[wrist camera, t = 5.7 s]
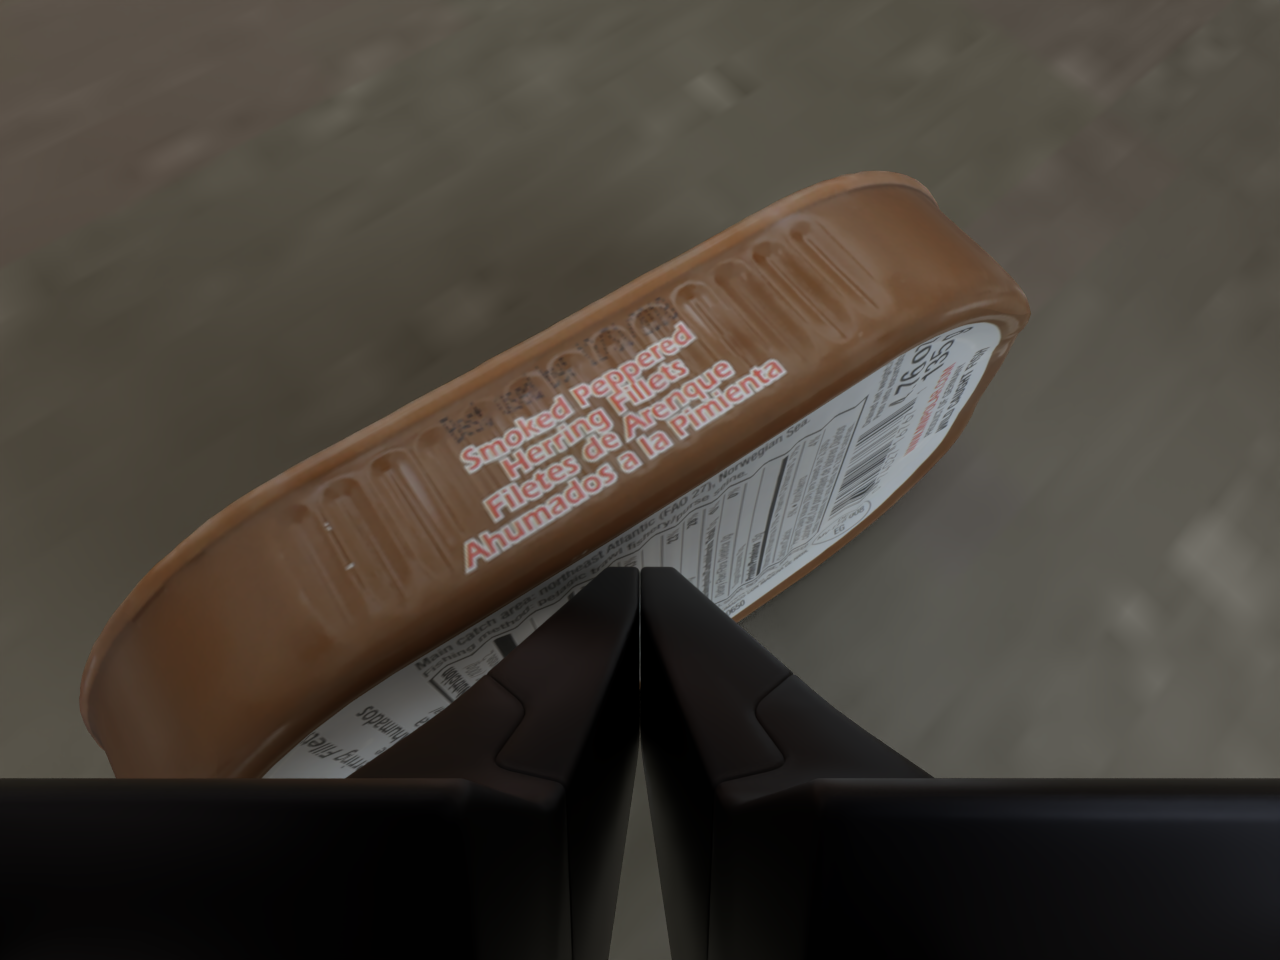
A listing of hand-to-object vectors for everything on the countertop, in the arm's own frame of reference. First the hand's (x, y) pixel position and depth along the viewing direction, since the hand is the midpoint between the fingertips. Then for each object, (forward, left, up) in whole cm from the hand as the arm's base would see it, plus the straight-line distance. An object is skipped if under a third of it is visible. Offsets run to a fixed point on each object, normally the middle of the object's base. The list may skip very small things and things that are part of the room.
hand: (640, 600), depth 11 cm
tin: (+1, 0, -7) cm, 7 cm away
